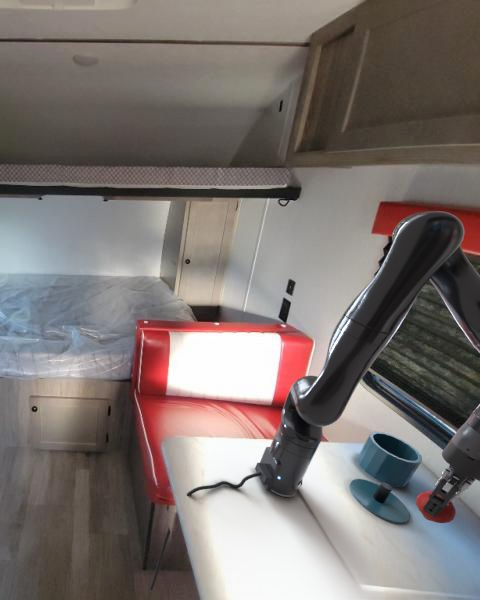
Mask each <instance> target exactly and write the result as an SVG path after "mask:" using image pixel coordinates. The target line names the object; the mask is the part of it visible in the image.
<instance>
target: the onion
mask: <svg viewBox="0 0 480 600" xmlns="http://www.w3.org/2000/svg"><path fill="white" fill-rule="evenodd" d="M433 491H434V490H426V491H423V492H420V493H419V494H417V497H416V500H415V504H416V507H417V508H418V511H419V512H420V513H421V514H422V517H423V518H424V519H426V520H427V521H430V522H434V523H436V524H446V523H447V524H449V523H451V522H452V521H453V520H454V519H455V517H456V508H455V505H454V504H453V502H452V501H450V502H449V503H448V504H449V505H448V506H447V507H444V508H443V510H442V511H441V512H440V514H439V515H438V516H437V517H433V516H431V515H430V514H429V513H427V512H426V511H424V509H423V507H424V506H425V505H426V503H427V502H428V501H429V495H430V494H431V493H432V492H433ZM437 495H438V496H440V495H439V494H437ZM440 497H442V496H440ZM442 498H443V497H442ZM443 499H445V498H443Z"/></svg>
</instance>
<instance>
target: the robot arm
mask: <svg viewBox="0 0 480 600" xmlns="http://www.w3.org/2000/svg"><path fill="white" fill-rule="evenodd" d="M464 236H465V227H464V224H463V222H462V221H461V219H459V218H458V217H457V216H456V215H454V214H452V213H450V212H446V211H442V210H441V211H440V210H429V211H428V210H427V211H420V212H416V213H413V214H411V215H408V216H406V217H405V218H403V219H401V220H400V221H399V222H398V224H397V225H396V226H395V227H394V229H393V232H392V235H391V238H392V239H391V240H392V243H391V246H390V247H389V250H388V252H387V254H386V256H385V258H384V260H383V261H382V264H381V265H380V268H379V269H378V271H377V273H376V274H375V275H374V277H373V278H372V279H371V280H370V281H369V283H367V285H365V286H364V288H363V289H362V290H361V291H360V292H359V294H357V295H356V296H355V298H354V299H353V300H352V302H351V303H350V304H349V305H348V306H347V308H346V310H344V312H343V314H342V315H341V317H340V319H339V321H338V322H337V323H336V325H335V327H334V329H333V332H332V333H331V337H330V340H329V343H328V347H327V352H326V357H325V361H324V364H323V367H322V368H321V371H320V373H319V374H318V376H317V375H305V376H302V377H300V378H298V379H296V380H295V381H294V383H292V385H291V387H290V388H289V391H288V393H287V396H286V398H285V401H284V404H283V407H282V410H281V413H280V415H281V416H280V422H279V424H278V427H277V428H276V432H275V434H274V436H273V439H272V441H271V444H270V446H266V447H265V449H264V452H263V453H262V455H261V459H260V461H259V462H256V465H255V467H254V471H255V472H254V473H252V474H249V475H247V476H245V477H243V478H242V480H241V481H240V482H239V483H238V484H234V483H231V482H229V481H227V480H223V481H219V482H216V483H214V484H211V485H210V484H208V485H201V486H197V487H194V488H192V489H191V490H189V491H188V492H187V493H186V496H187V497H190V496H191V495H193V494H195V493H196V492H200V491H203V490H204V491H205V490H211V489H212V490H213V489H215V488H218V487H220V486H224V485H225V486H229V487H231V488H233V489H240V488H241V487H243V486H244V484H245V483H246V482H247V481H248V480H250V479H253V478H256V477H258V478H259V480H260V482H261V483H262V485H263V487H264V488H265V489H264V490H266V491H268V492H271V493H273V494H275V495H277V496H280V497H283V498H293V497H295V495H296V494H297V493H298V489H299V487H300V488H302V485H303V480H304V477H305V474H306V473H307V471H308V468H309V467H310V465H311V462H312V461H313V459H314V456H315V454H316V452H317V450H318V448H319V446H320V445H321V442H322V440H323V433H324V432H323V427H328V426H330V425H332V424H334V423H336V422H337V421H338V420H339V419H340V418H341V417H342V415H343V413H344V412H345V410H346V408H347V406H348V404H349V402H350V401H351V398H352V396H353V394H354V392H355V390H356V388H357V387H358V385H359V383H360V382H361V381H362V379H363V378H364V377H365V375H366V374H367V373H368V371H369V370H370V368H371V367H372V365H373V364H374V363H375V361H376V359H377V358H378V357H379V355H380V354H381V352H382V351H384V349H385V348H386V346H387V345H388V343H389V342H390V341H391V340H392V337H393V336H394V335H395V334H396V332H397V331H398V329H399V328H400V326H401V325H402V323H403V321H404V319H406V316H407V315H408V313H409V312H410V310H411V308H412V306H413V304H414V303H415V301H416V299H417V297H418V295H419V294H420V292H421V291H422V290H423V288H424V287H425V286H426V284H427V283H428V282H430V283H431V284H432V285H433V287H434V288H435V290H436V292H437V293H438V294H439V296H440V297H441V299H442V300H443V302H444V304H445V306H446V307H447V309H448V310H449V312H450V313H451V315H452V317H453V319H454V320H455V322H456V323H457V325H458V327H460V329H461V330H462V332H463V333H464V335H465V336H466V337H467V339H468V341H469V342H470V343H471V345H472V346H473V347H474V349H476V350H477V351H478V353H479V354H480V274H479V272H478V271H477V270H476V269H475V267H474V266H473V264H471V262H470V260H469V259H468V257H467V256H466V254H465V252H464V250H463V248H462V245H461V244H462V242H463V241H464V238H465V237H464ZM441 456H442V458H443V460H444V461H445V462H446V463H447V464H448V466H447V468H446V467H445V468H444V470H443V471H442V472H441V477H440V478H439V479H438V480H437V481H436V483H435V484H434V487H435V488H434V489H433V490H432V491H433V492H432V493H431V494H430V495H429V501H428V502H427V503H426V505H425V506H424V507H423V509H424V511H426V512H427V513H429V514H430V515H431V516H433V517H437V516H438V515H439V514H440V512H441V511H442V510H443V508H444V507H447V506H448V505H449V504H448V503H449V502H450V501H451V502H452V501H453V500H458V499H459V497H460V496H461V495H462V494H463V492H465V491H466V490H468V489H470V487H471V486H472V485H473V484H474V483H475V482H476V481H478V482H479V481H480V403H479V404H478V405H477V406H476V407H475V408H474V410H473V411H472V413H471V414H470V415H469V417H468V419H466V421H465V422H464V423H463V424H462V425H461V426H460V427H459V428H458V429H457V430H456V432H455V433H454V435H453V436H452V438H450V440H449V442H448V443H447V445H445V448H444V449H443V451H442V452H441ZM437 494H439V495H440V496H442V497H443V498H445V499H443V498H442V497H440V496H438V495H437ZM170 535H171V529H170V527H168V528H167V531H166V534H165V537H164V539H163V544H162V547H161V550H160V554H159V557H158V560H157V563H156V568H155V570H154V571H155V572H154V575H153V578H152V580H151V581H152V582H151V584H150V586H149V589H150V591H153V590H154V588H155V584H156V581H157V577H158V575H159V571H160V567H161V565H162V561H163V557H164V553H165V550H166V547H167V544H168V541H169V537H170Z"/></svg>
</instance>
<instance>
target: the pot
mask: <svg viewBox="0 0 480 600" xmlns="http://www.w3.org/2000/svg"><path fill="white" fill-rule="evenodd" d="M356 461H357V463H358V466H359V467H360V468H361V469H362V470H363V471H364V472H365V473H366V474H368V475H369V476H370V477H372V478H373V479H374V480H377V481H378V482H380V483H381V482H385V483H387V484H389V485H390V486H391V487H392V488H404V487H406V486H407V485H408V483H409V482H410V480H411V479H412V477H413V476H414V475H415V472H416V471H417V470H418V468H419V467H420V465H421V464H422V461H423V457H422V455H421V454H420V452H419V451H418V449H416V448H415V447H414V446H412V445H411V444H409V443H408V442H406V441H405V440H403V439H402V438H400V437H397V436H395V435H392V434H389V433H386V432H383V431H373V432H370V434H369V435H368V437H367V439H366V441H365V443H364V444H363V446H362V448H361V450H360V451H359V453H358V455H357V457H356Z"/></svg>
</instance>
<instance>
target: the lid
mask: <svg viewBox="0 0 480 600" xmlns="http://www.w3.org/2000/svg"><path fill="white" fill-rule="evenodd" d="M393 488H394V487H392V486H390V485H389V484H387V483H385V482H380V484H377V483H375V482H373V481H371V480H367V479H363V478H355V479H352V480H351V481H350V482H349V490H350V492H351V495H352V496H353V498H354V499H355V500H356V501H357V502H358V503H359V504H360V505H361V506H362V507H363V508H364V509H366V510H367V511H368V512H370V513H371V514H373V515H375V516H376V517H378V518H381V519H382V520H385V521H387V522H390V523H393V524H400V525H401V524H405V523H407V522H408V521H409V519H410V513H409V510H408V508H407V507H406V505H405V504H404V503H403V501H401V499H399V498H398V497H397V495H395V494H393V493H392V491H393Z"/></svg>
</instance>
